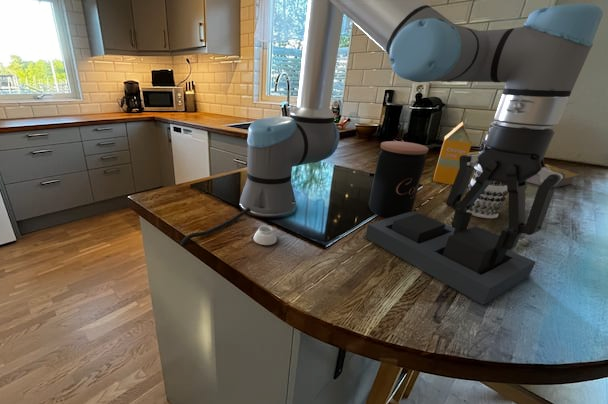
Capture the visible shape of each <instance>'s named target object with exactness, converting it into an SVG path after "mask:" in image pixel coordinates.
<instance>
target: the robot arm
mask: <svg viewBox="0 0 608 404" xmlns="http://www.w3.org/2000/svg"><path fill="white" fill-rule="evenodd" d="M603 12H604V11H603V9H602V8H601V7H600V6H599V5H596V4H592V3H569V4H560V5H552V6H550V7H549V6H548V7H542V8H538V9H535V10H534V11H532V12H530V13H529V15H528V16H527V19H526V21H525V22H524V23H523V26H517V27H512V28H504V29H503V28H501V29H486V30H484V29H483V30H477V29H475V28H470V27H467V26H463V25H459V24H456V23H454V22H453V21H451V20H449V19H448V18H447V17H446V16H444V15H443V14H442V13H440V12H439V11H438V10H436V9H435V8H433V7H432V6H431V5H430V4H428V3H427V2H425V1H424V0H307V4H306V14H305V23H304V31H303V32H304V33H303V43H302V52H301V61H300V71H299V82H298V90H297V100H296V106H295V107H294V108H293V109H292V110H291V111H290V112H289V116H269V117H267V116H266V117H262V118H259V119H256V120H254V121H253V122H251V123H250V125H249V127H248V129H247V131H248V132H247V138H246V143H247V156H246V157H247V162H246V181H245V184H244V186H243V190H242V192H241V194H240V198H239V208H240V210H241V212H239V213H237V214H236V215H235V216H233V217H232V218H230V219H227V220H226V221H224V222H222V223H220V224H218V225H216V226H214V227H212V228H209V229H207V230H204V231H197V232H192V233H189V234H188V235H186V236H185V237H184V238H183V239H182V240H181V241H180V243H179V245H180V246H184V245H185V244H186V243H187V242H188V241H189V240H191V239H192V238H195V237H202V236H207V235H210V234H212V233H214V232H216V231H219V230H220V229H222V228H225V227H226V226H228V225H230V224H231V223H234V222H235V221H237V220H238V219H240V218H241V217H243V215H245V214H246V215H249V216H251V217H254V218H259V219H268V220H269V219H270V220H272V219H273V220H275V219H282V218H287V217H289V216H291V215H293V214H294V213H295V212H296V209H297V200H296V195H295V192H294V187H293V184H292V175H293V168H294V167H297V166H302V165H308V164H315V163H320V162H321V161H324V160H326V159H328V158H330V157H332V156H333V154H334V153H335V152H336V150H337V148H338V146H339V143H340V130H339V129H338V125H337V124H336V122H334V120H335V114H334V113H333V111H332V110H331V101H332V94H333V88H334V87H333V86H334V83H335V82H334V81H335V74H336V67H337V60H338V54H339V48H340V42H341V34H342V28H343V20H344V15H345V16H346V17H347V18H348V19H349V20H350V21H351V22H353V24H354V25H356V26H357V27H358V28H359V29H360V30H361V31H362V32H363V33H364V34H366V36H368V37H369V38H370V39H371V40H372V41H373V42H374V43H375V44H377V46H379V47H380V48H381V49H382V50H383V51H384V52H385V53H386V54H387V55H389V62H390V67H391V69H392V71H393V72H394V73H395V74H396V75H397V76H398V77H400V78H401V79H404V80H407V81H410V82H414V83H429V82H441V83H454V82H458V83H459V82H460V83H504V89H503V90H502V94H501V97H500V100H499V103H498V106H497V109H496V112H495V114H494V117H493V120H494V121H495V120H496V121H498V122H497V124H493V126H491V125H490V126H491V128H490V127H489V129H490V131H489V130H488V132H489V134H488V133H487V134H488V137H487V140H486V143H485V148H484V150H481V151H482V152H481V153H480V154H479V155H473V154H467V155H462V156H461V157H460V168H459V171H458V173H457V176H456V178H455V181H454V184H453V185H452V187H451V189H450V191H449V194H448V196H447V199H446V202H445V205H446V206H447V207H450V208H452V209H453V210H454V214H453V217H452V220H451V224H450V226H451V227H454V228H455V231H454V234H456V233H458V232H461V231H463V230H466V229H468V227H469V224H470V221H471V218H472V216H473V215H472V213H470V212H467V210H470V209H469V208H470V207H471V206H472V205H473V203H474V202H475V201H476V200H477V199H478V197H479V196H480V195H481V194H482V193H483V191H484V190H485V189H486V188H487V187H488V185H489V184H490V183H491V182H493V181H496V182H500V183H502V184H505V185H507V190H506V191H507V192H508V227H506V228H504V229H501V232H500V234H499V235H500V237H499V239H498V242H497V244H496V247H495V250H494V252H493V254H492V257H491V259H490V262H489V263H490V264H492V265H495V264H497V263H499V262H501V261H502V259H503V256H504V254H505V252H506V249H507V250H509V251H511V250H513V249H515V248H516V247H517V245H518V243H519V240H520V238H521V236H522V234H523V235H528V236H531V235H534V234H536V233H538V232H539V231H541V230H542V226H543V223H544V221H545V218H546V215H547V213H548V210H549V207H550V204H551V201H552V198H553V196H554V194H555V190H556V188H558V187H557V186H558V185H559V184H560V183H561V182H562V181H563V179H564V178H565V174H563V173H555V172H553V171H551V169H550V170H549V169H547V168H545V167H544V166H545V162H544V159H545V156H546V153H547V152H548V149H549V147H550V144H551V142H552V139H553V137H554V135H555V131H554V129H552V127H555V126H558V125H559V123H560V121H561V118H562V116H563V113H564V111H565V109H566V107H567V104H568V102H569V99H570V96H571V94H572V91H573V90H574V87H575V85H576V83H577V81H578V78H579V76H580V74H581V71H582V68H583V67H584V65H585V62H586V60H587V58H588V56H589V53H590V52H591V49H592V48H593V46H594V40H595V37H596V34H597V31H598V28H599V25H600V23H601V21H602V18H603V14H604V13H603ZM478 161H479V163H480V166H481V168H482V171H483V172H482V173H481V174H480V176H479V177H478V178H477V180H476V182H475V184H474V185H473V186H472V187H471V189H470V190H469V191H468V193H467V192H466V190H467V189H466V188H467V187H468V185H469V184H468V183H469V181H470V180H471V178H472V177H471V176H472V174H473V172H474V169H475V168H474V166H476V165H477V162H478ZM536 174H538V175H539V180H538V182H539V183H540V184H541V185H538V188H537V190H536V193H535V196H534V198H533V202H532V205H531V209H530V211H529V214H528V217H527V219H526V190H527V187H528V185H527V184H528V182H527V179H529V178H531V177H532V176H534V175H536ZM465 192H466V193H465ZM464 193H465V195H464Z"/></svg>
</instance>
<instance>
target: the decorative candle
mask: <svg viewBox="0 0 608 404" xmlns="http://www.w3.org/2000/svg"><path fill="white" fill-rule="evenodd" d="M497 122H498V121H496V120H495V119H494V121H491V122H490V126H489V129H488V132H487V134H486V135H485V137H483V138H481V140H480V142H481V144H480V145H479V146H478V147H479V149H480V150H479V151H480V152H479V151H478V152H479V153H478V154H477V155H479V154H480V153H481V152H482V151H483V150H484V148H485V143H486V140H487V137H488V134H489V131H490V128H491V126H493V124H497ZM477 163H478V164H477V165H476V166H475V167H474V169H475V171H474V173H473V176H472V177H471V178H470V182H469V184H467V187H468V188H467V189H465V192H466V194H467V193H468V191H469V190H470V189H471V187H472V186H473V185H474V184H475V182H476V180H477V178H478V177H479V176H480V174H481V173H482V172H483V171H482V168H481V166H480V163H479V161H478V162H477ZM507 195H509V192H508V191H507V185H505V184H502V183H500V182H496V181H493V182H491V183H490V184H489V185H488V187H487V188H486V189H485V190H484V191H483V193H482V194H481V195H480V196H479V197H478V199H477V200H476V201H475V202H474V203H473V205H472V206H471V207H470V208H469V209H470V210H467V212H470V213H472V216H474V217H478V218H483V219H497V218H498V217H499V214H500V212H501V211H502V210H501V208H502V207H503V206H504V204H503V202H504V201H505V200H506V197H505V196H507Z"/></svg>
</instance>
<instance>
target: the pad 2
mask: <svg viewBox="0 0 608 404" xmlns="http://www.w3.org/2000/svg"><path fill="white" fill-rule="evenodd" d="M499 237H500V234H497V233H495V232H492V231H489V230H487V229H485V228H482V227H480V226H476V225H473V226H471V227H469V228H467V229H466V230H463V231H461V232H458V233H456V234H453V235H451V236H449V237H448V240H447V243H446V246H445V249H444V252H443V255H442V256H444V257H446V258H448V259H450V260H452V261H454V262H456V263H458V264H460V265H462V266H464V267H466V268H468V269H470V270H472V271H474V272H476V273H478V274H480V275H483V274H484V273H486V272H488V271H490V270H492V269H494V267H495V266H497V265H499V264H500V263H502V261H503V259H504V256H505V254H506V252H507V249H506V252H505V254H504V256H503V259H502V261H501V262H499V263H497V264H495V265H492V264H490V263H489V262H490V259H491V257H492V254H493V252H494V250H495V247H496V244H497V242H498V239H499Z"/></svg>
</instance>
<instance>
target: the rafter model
mask: <svg viewBox="0 0 608 404" xmlns="http://www.w3.org/2000/svg"><path fill="white" fill-rule="evenodd" d="M480 151H481V150H479V151H471V152H470V151H469V154H473V155H477V154H478V153H479V152H480ZM477 164H478V163H477ZM544 165H545V166H544V167H545V168H547V169H549V170H551V171H553V172H555V173H563V174H565V178H564V179H563V181H562V182H561V183H560V184H559V185H558V186H557V187H556V188H558V187H564V186H568V185H571V184H572V182H573V180H574V178H575V177H578V176H580V175H581V174H579V173H576V172H572V171H569V170H566V169H563V168H560V167H557V166H554V165H551V164H548V163H544ZM474 167H475V166H474ZM538 180H539V175H538V174H536V175H534V176H532V177H531V178H529V179H527V183H530V184H533V185H534V184H535V185H537V186H540V185H541V184H540V183H539V182H538Z"/></svg>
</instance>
